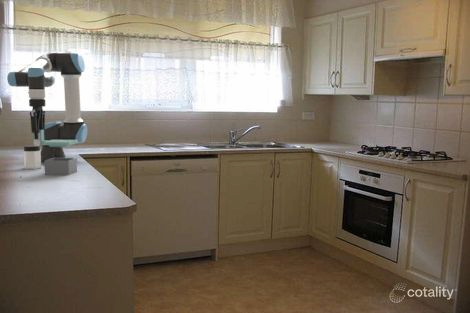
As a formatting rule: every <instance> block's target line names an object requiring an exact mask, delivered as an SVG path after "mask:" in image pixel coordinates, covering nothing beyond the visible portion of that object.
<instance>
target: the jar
mask: <svg viewBox="0 0 470 313" xmlns="http://www.w3.org/2000/svg"><path fill="white" fill-rule="evenodd" d="M22 152H23V169H26V170H36V169H41V168H42V161H41V145H40V146H34V144H33V145H30V144H28V145H23V151H22Z"/></svg>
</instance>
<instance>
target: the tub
mask: <svg viewBox="0 0 470 313" xmlns="http://www.w3.org/2000/svg"><path fill="white" fill-rule="evenodd" d="M43 162H44V175H47V176H49V175H51V176H61V175H62V176H70V175H72V174H75V173H77V171H78V158H77V157H66V158H51V159H48V160H45V161H43Z"/></svg>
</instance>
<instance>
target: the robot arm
mask: <svg viewBox="0 0 470 313" xmlns="http://www.w3.org/2000/svg"><path fill="white" fill-rule="evenodd" d="M85 65H86V64H85V60H84V57H83V55H82V53H80V52H77V51H51V52H47V53H46V54H45V53H44V54H43V55H41V56H39V57H37V58H36V59H35V61H34V62H33V63H31V64H29V65H27V66H26V67H24V68H22V69H21V70H18V71H10V72H8V74H7V78H6V80H7V84H8V85H9V86H10V87H14V88H15V87H16V88H18V87H20V88H22V87H23V88H28V97H29V99H28V105H29V107H31V108H32V109H31V111H30V112H29V115H30V125H31V126H30V129H31V134H33V133H34V144H33V145H34V146H40V147H41V148H40V151H41V162H44V161H45V160H48V159H51V158H67V157H66V153H65V152H64V149H63V148H64V147H49V145H43V144H40V133H39V130H44V140H78V143H75V144H83V143H84V142H86V139H87V137H88V125H87V124H85V123H84V122H85V121H84V119H82V117H81V116H82V115H81V114H82V113H81V94H80V92H81V91H80V78H81V77H82V73H83V72H84V71H85V68H86V67H85ZM52 72H53V73H54V72H57V73H60V76H61V77H62V78H63V88H64V90H63V91H64V92H63V93H64V106H65V108H64V110H65V119H64V120H63V123H62V121H55V122H46V117H45V116H46V111H45V110H44V109H43V108H44V107H46V99H45V98H46V88H49V87H52V86H53V85H54V84H55V82H56V79H55V76H54V75H53V74H52ZM75 144H74V145H75Z"/></svg>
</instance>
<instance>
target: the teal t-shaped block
mask: <svg viewBox="0 0 470 313" xmlns="http://www.w3.org/2000/svg"><path fill="white" fill-rule="evenodd" d="M39 133H40V144H43V145H49V147H62V148H67V147H71V146H73V145H75V143H77V144H79V143H78V140H44V130H39ZM32 134H33V136H32V138H33V140H32V144H33V145H34V133H32Z"/></svg>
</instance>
